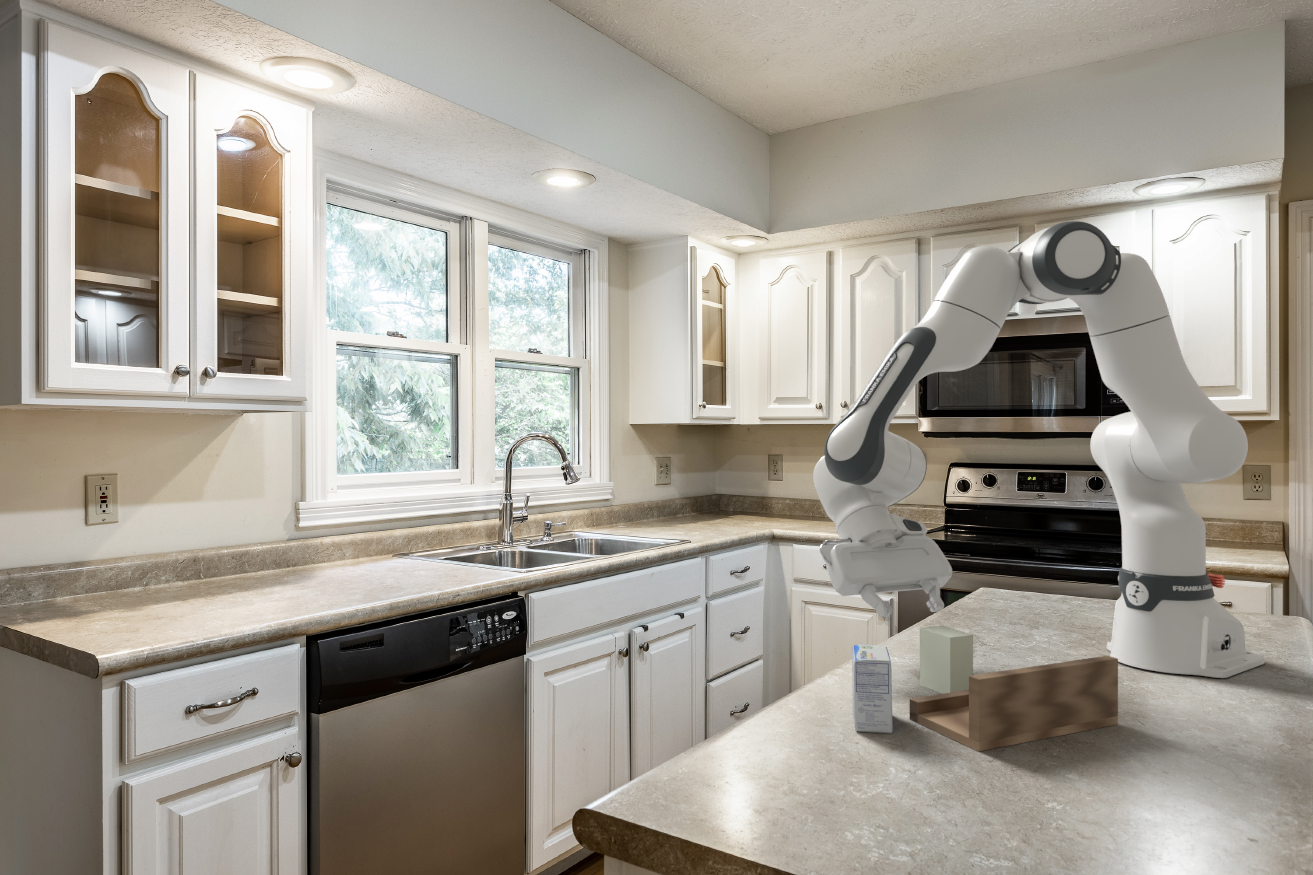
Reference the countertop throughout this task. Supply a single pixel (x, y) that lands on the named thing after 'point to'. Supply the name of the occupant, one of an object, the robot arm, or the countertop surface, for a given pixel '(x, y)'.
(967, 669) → the sage cabinet block
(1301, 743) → the countertop surface
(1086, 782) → the countertop surface
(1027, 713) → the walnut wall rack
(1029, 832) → the countertop surface
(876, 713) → the medicine box
